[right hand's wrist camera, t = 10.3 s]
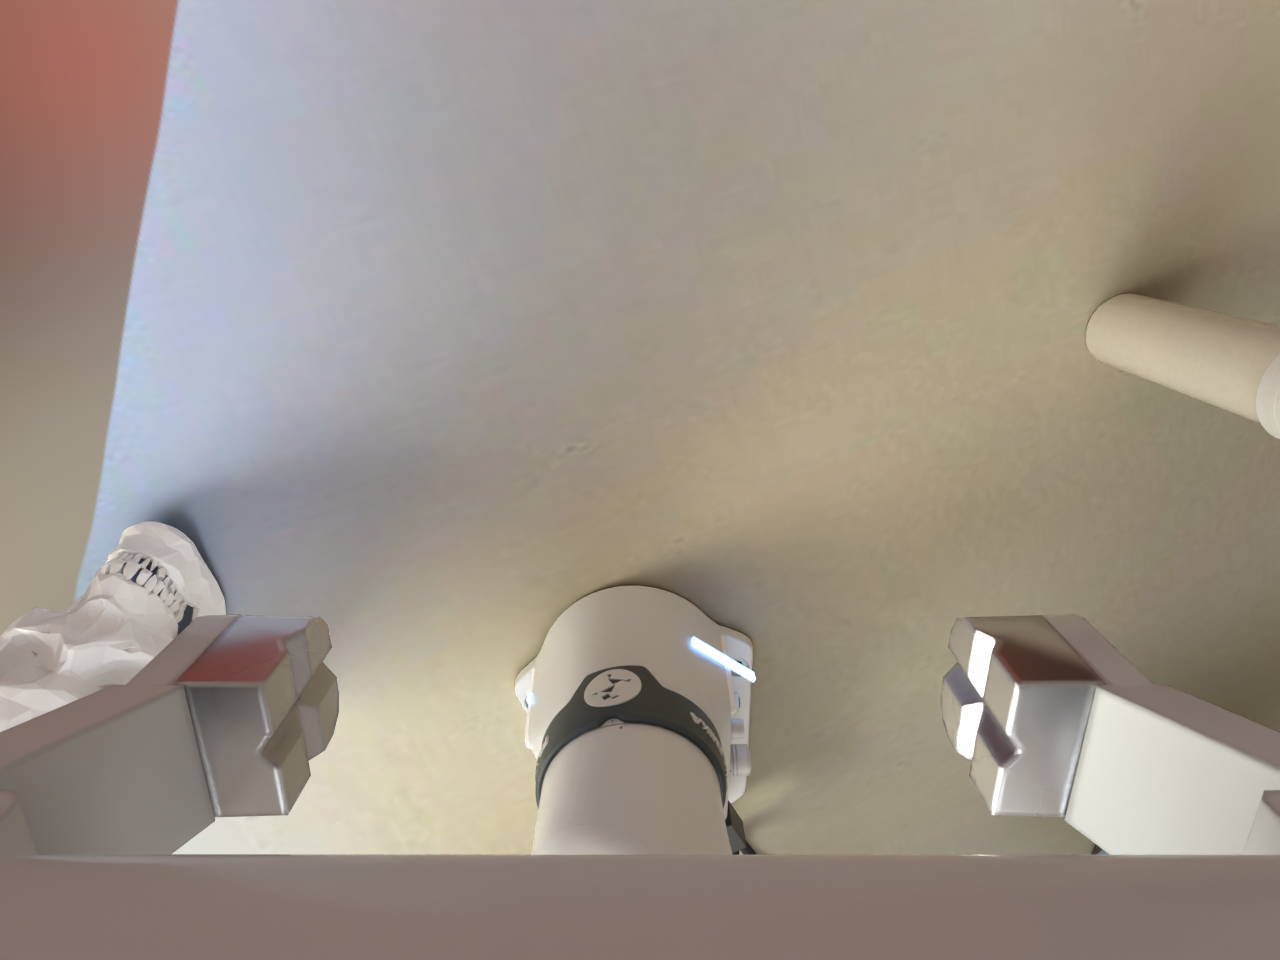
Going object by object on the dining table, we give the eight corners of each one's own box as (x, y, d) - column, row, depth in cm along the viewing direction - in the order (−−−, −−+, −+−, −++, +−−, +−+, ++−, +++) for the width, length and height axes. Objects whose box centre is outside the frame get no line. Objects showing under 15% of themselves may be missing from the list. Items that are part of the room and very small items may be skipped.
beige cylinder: (1074, 318, 52) (1268, 378, 36) (1143, 279, 51) (1374, 322, 35) (1100, 377, 54) (1298, 461, 37) (1167, 340, 53) (1400, 409, 37)
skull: (256, 527, 57) (112, 645, 42) (243, 764, 65) (117, 936, 50) (72, 487, 56) (-141, 594, 42) (80, 732, 64) (-97, 896, 49)
